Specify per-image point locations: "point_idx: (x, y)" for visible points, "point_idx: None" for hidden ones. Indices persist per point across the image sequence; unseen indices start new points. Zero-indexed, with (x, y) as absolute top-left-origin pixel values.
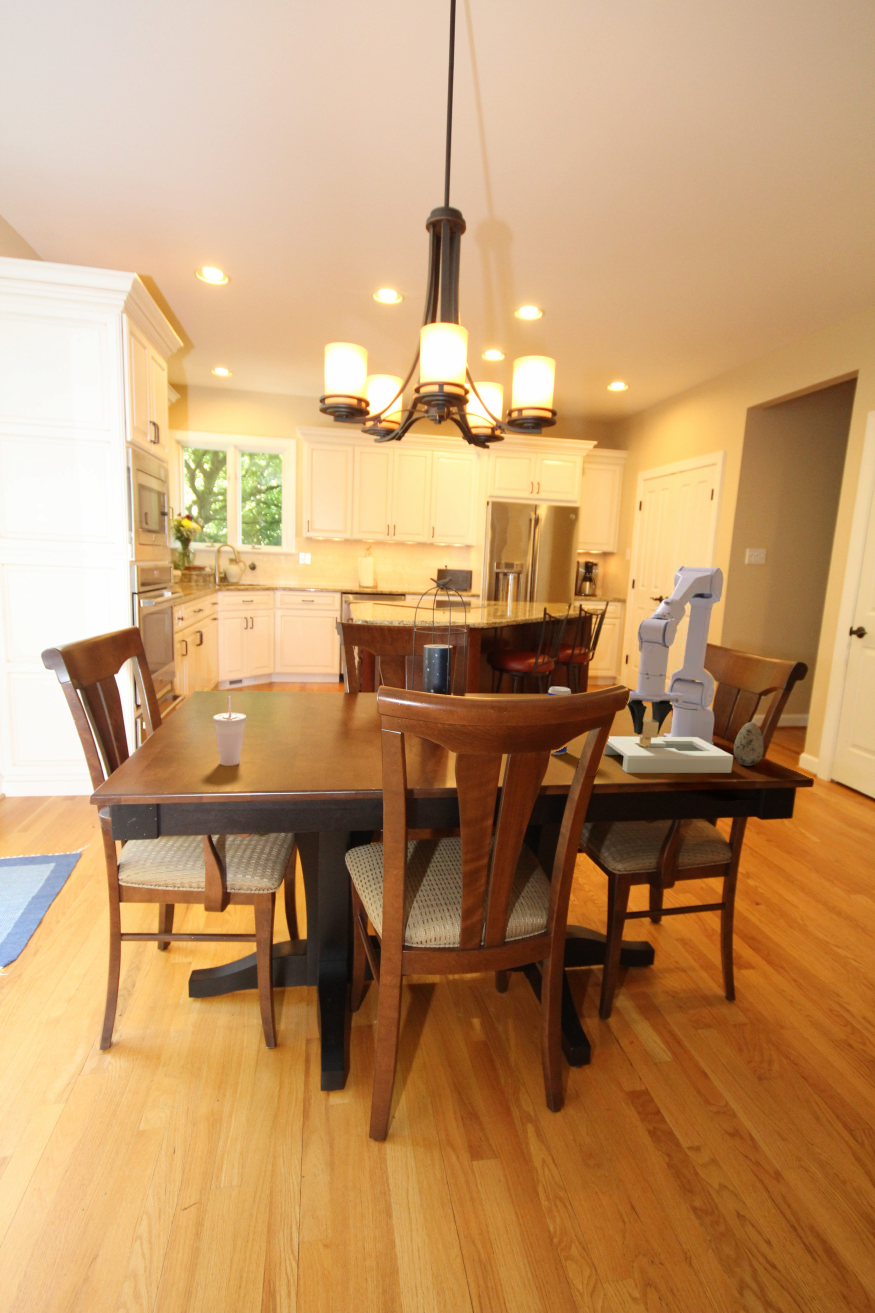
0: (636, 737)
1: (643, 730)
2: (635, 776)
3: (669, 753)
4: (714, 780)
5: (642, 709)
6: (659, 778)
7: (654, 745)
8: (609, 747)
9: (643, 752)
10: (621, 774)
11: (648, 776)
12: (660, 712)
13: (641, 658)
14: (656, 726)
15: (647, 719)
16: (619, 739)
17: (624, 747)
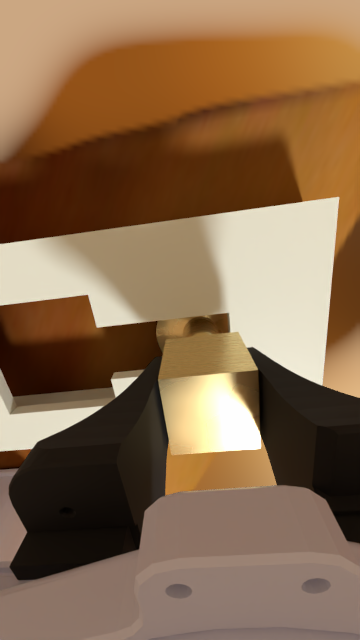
0: None
1: (241, 347)
2: (286, 168)
3: (136, 256)
4: (13, 164)
5: (342, 414)
6: (205, 157)
7: None
8: None
9: (245, 254)
10: (328, 185)
11: (238, 175)
12: (143, 429)
13: None
14: (171, 365)
15: (207, 425)
16: None
17: (297, 311)
